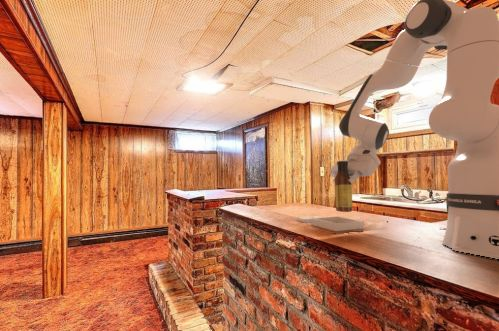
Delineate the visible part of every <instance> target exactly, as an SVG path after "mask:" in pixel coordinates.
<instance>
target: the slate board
mask: <svg viewBox="0 0 499 331" xmlns="http://www.w3.org/2000/svg"><path fill="white" fill-rule="evenodd" d="M291 221H296V222H300V223H304V224H312V222H301V221H298V220H297V218H291Z"/></svg>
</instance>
